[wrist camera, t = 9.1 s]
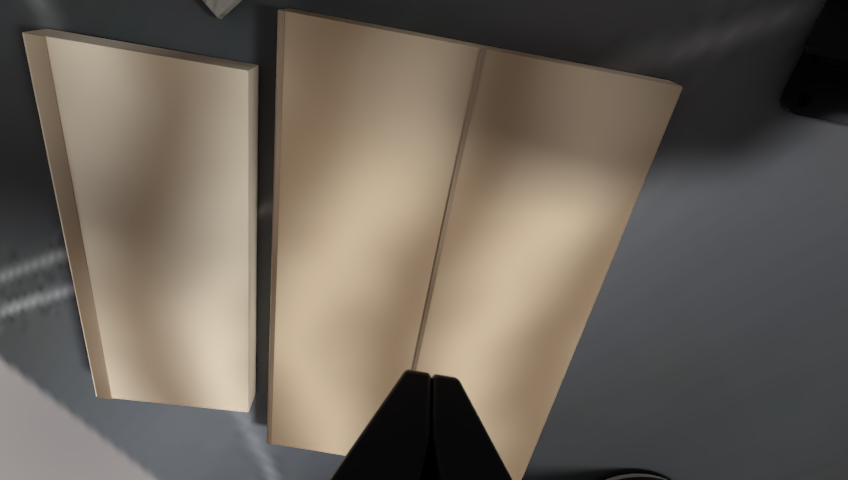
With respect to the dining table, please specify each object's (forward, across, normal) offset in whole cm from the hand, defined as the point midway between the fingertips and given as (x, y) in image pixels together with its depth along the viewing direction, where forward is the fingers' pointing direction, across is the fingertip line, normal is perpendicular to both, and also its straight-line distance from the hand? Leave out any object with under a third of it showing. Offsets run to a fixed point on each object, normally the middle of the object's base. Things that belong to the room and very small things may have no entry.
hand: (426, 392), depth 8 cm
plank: (+12, +10, +6) cm, 17 cm away
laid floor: (+12, 0, +6) cm, 13 cm away
